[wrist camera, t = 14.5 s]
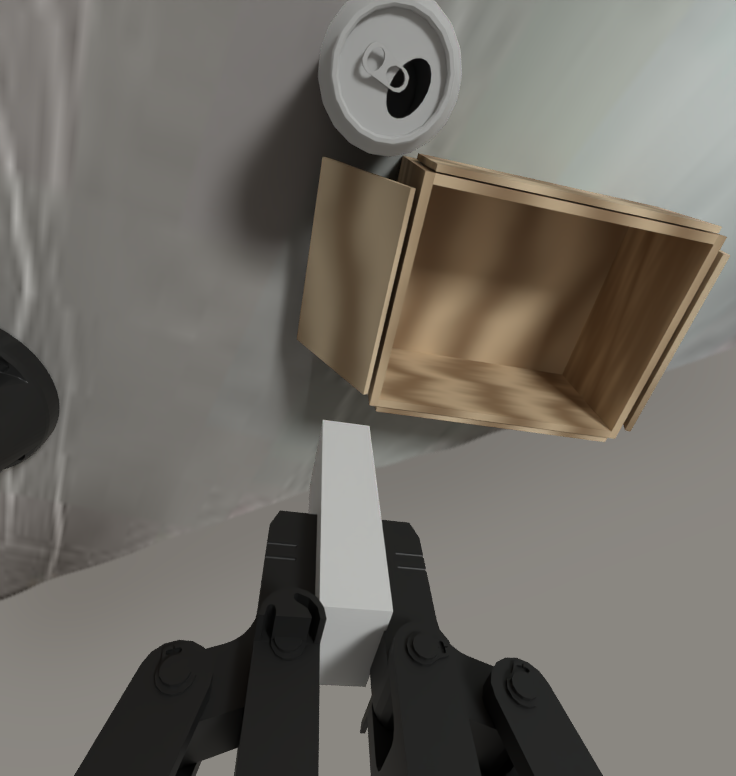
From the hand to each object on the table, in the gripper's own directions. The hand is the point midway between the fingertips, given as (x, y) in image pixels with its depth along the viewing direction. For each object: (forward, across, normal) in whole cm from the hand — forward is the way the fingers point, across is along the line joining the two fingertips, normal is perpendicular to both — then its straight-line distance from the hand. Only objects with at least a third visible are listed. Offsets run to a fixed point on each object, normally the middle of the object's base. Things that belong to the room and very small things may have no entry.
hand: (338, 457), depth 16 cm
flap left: (+21, +1, 0) cm, 21 cm away
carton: (+27, +14, 0) cm, 31 cm away
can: (+28, +1, +12) cm, 30 cm away
